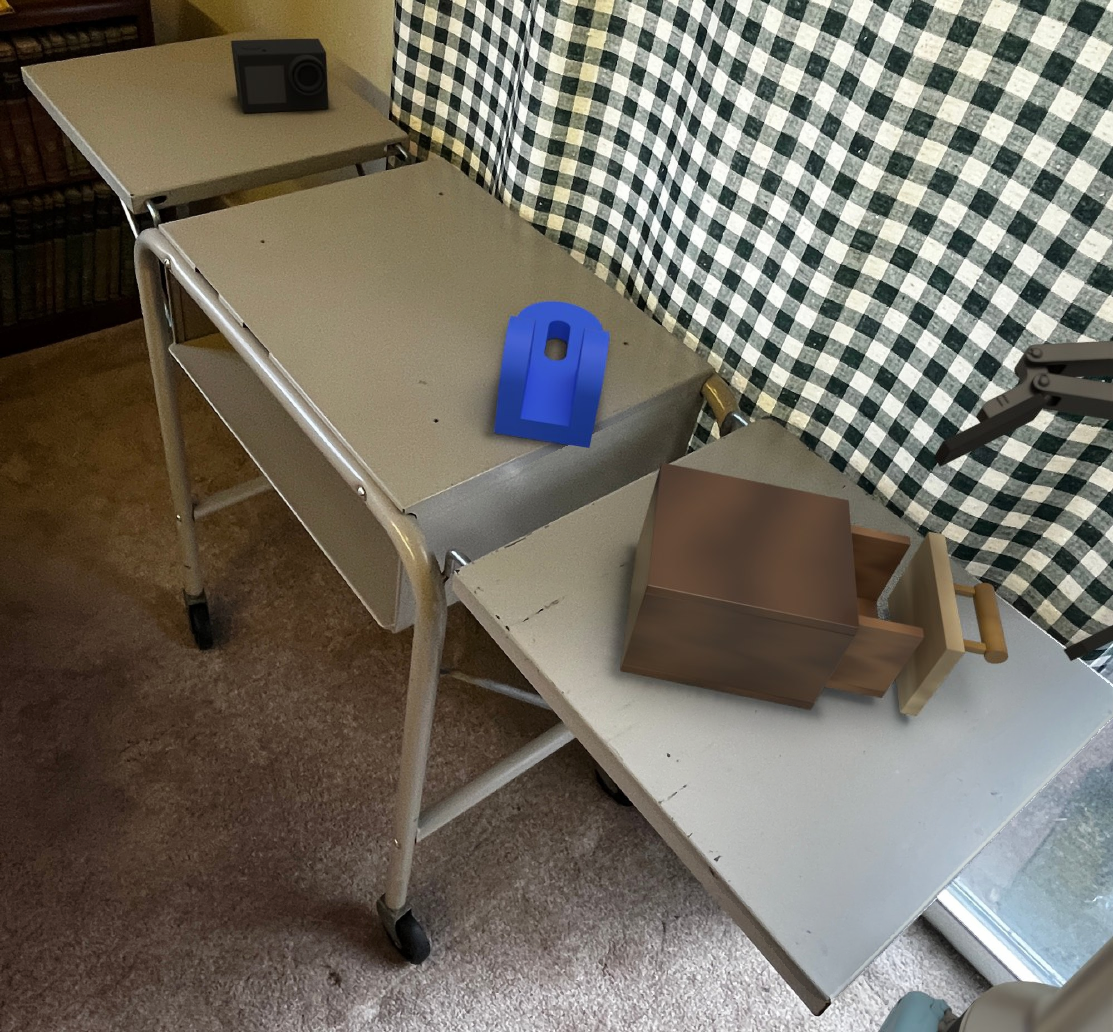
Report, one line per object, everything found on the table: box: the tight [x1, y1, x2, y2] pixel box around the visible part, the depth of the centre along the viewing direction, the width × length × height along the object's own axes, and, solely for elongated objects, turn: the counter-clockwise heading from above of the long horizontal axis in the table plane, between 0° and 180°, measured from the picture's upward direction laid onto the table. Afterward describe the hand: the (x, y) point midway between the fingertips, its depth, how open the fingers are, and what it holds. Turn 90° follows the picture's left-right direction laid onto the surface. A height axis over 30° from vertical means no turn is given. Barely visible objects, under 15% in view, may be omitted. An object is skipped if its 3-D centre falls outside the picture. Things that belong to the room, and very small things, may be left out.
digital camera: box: [230, 38, 330, 114], centre depth 115 cm, size 10×5×7 cm, turn 113°
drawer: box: [824, 524, 1009, 717], centre depth 67 cm, size 17×10×8 cm, turn 81°
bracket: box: [493, 300, 610, 449], centre depth 85 cm, size 18×8×9 cm, turn 175°
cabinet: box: [620, 462, 859, 711], centre depth 67 cm, size 14×12×10 cm
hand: (1004, 549), depth 56 cm, fingers open, 13 cm apart
